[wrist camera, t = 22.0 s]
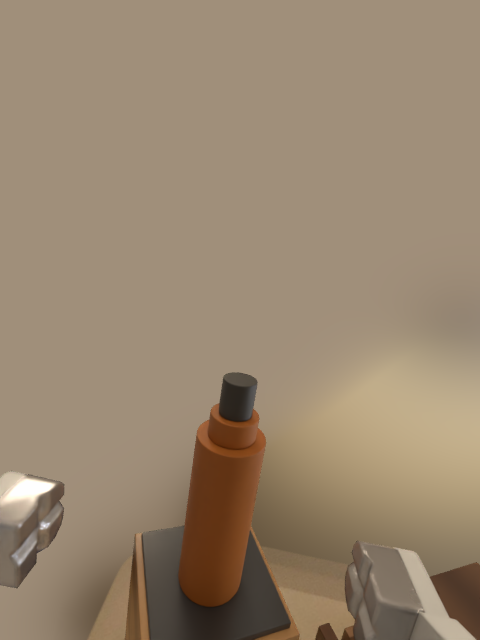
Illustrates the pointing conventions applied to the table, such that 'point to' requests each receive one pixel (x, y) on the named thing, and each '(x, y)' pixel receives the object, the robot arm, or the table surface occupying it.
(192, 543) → the lotion bottle
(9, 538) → the robot arm
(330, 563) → the table surface
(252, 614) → the display stand
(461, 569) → the cabinet
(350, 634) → the drawer
